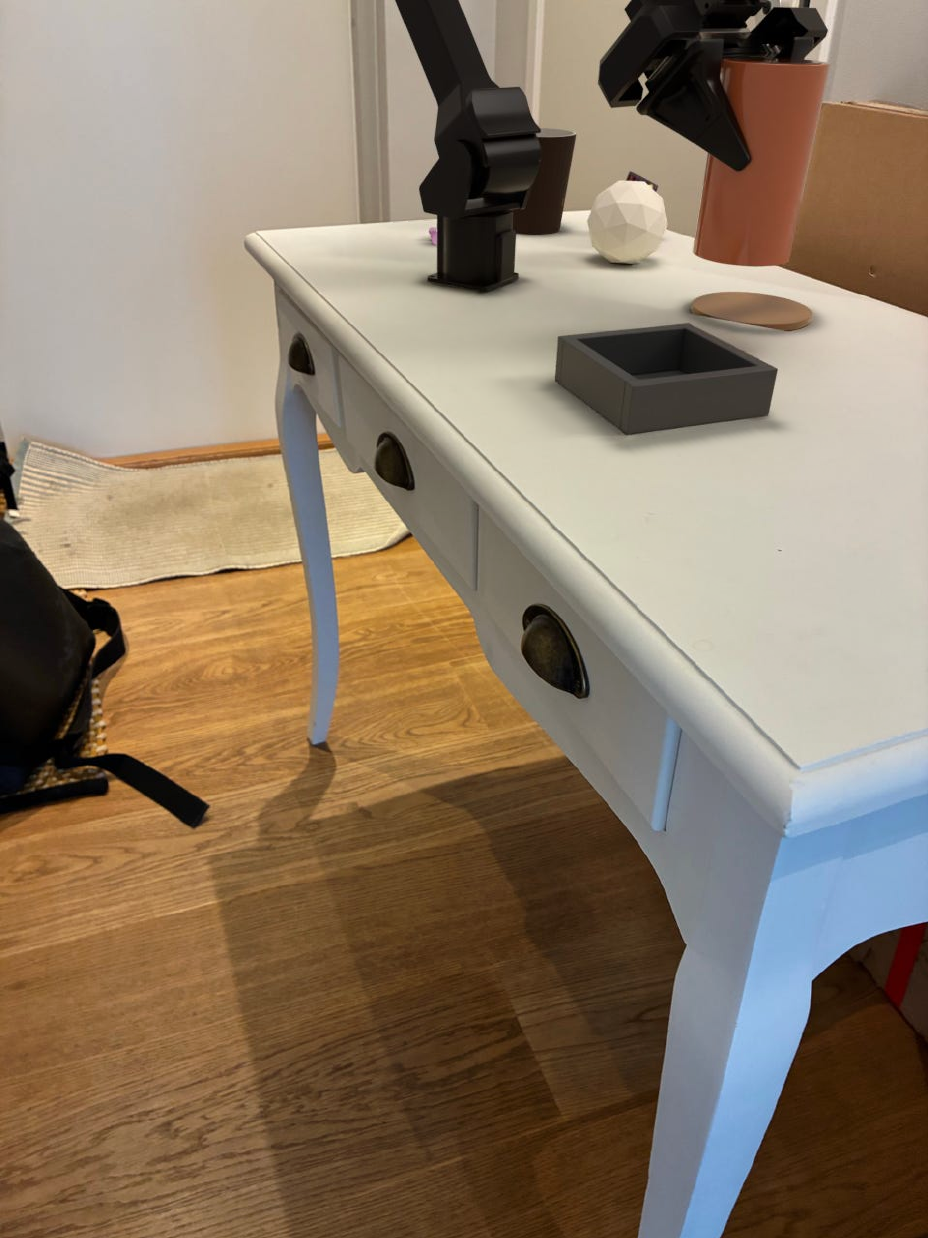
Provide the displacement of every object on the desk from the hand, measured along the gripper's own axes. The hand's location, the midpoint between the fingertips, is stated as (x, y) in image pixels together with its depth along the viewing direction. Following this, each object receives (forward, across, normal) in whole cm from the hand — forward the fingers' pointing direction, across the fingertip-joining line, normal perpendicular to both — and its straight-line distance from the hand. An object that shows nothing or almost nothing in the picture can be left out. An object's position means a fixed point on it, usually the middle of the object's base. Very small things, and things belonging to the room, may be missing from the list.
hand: (775, 162), depth 63 cm
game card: (-12, +26, +32) cm, 43 cm away
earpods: (-21, +8, +41) cm, 47 cm away
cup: (+3, 0, +5) cm, 6 cm away
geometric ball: (-8, +17, +28) cm, 34 cm away
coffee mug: (-21, +23, +41) cm, 51 cm away
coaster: (+5, +11, +14) cm, 19 cm away
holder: (+11, -13, +8) cm, 19 cm away
